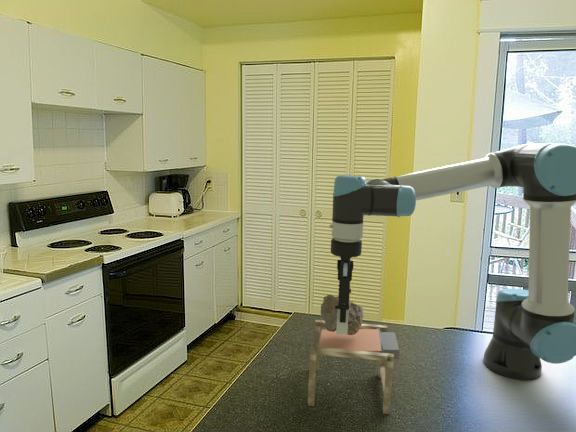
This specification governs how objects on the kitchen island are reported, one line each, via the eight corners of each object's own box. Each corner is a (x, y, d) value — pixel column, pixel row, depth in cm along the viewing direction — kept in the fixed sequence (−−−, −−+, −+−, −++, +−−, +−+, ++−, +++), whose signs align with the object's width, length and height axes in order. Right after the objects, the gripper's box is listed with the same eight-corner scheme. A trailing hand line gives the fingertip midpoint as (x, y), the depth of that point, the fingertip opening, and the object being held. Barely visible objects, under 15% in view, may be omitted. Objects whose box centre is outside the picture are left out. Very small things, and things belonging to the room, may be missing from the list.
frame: (383, 375, 122) (387, 325, 120) (389, 414, 105) (394, 356, 102) (313, 368, 125) (315, 319, 122) (307, 405, 107) (310, 349, 105)
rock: (355, 350, 107) (375, 314, 108) (314, 327, 107) (334, 291, 107) (347, 341, 116) (366, 307, 117) (309, 319, 116) (328, 286, 116)
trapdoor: (394, 337, 118) (394, 328, 118) (400, 363, 105) (400, 352, 104) (322, 337, 121) (321, 327, 120) (319, 362, 107) (318, 351, 107)
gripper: (332, 229, 120) (328, 307, 124) (329, 248, 98) (325, 343, 102) (360, 230, 119) (356, 310, 123) (363, 250, 97) (358, 345, 101)
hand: (342, 325), depth 112 cm, fingers open, 9 cm apart
